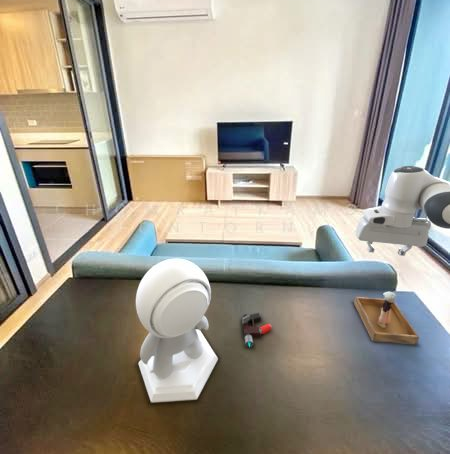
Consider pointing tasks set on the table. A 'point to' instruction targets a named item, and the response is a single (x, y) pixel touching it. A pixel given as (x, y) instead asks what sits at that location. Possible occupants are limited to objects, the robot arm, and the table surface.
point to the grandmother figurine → (386, 309)
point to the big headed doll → (174, 331)
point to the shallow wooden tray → (394, 331)
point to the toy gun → (253, 328)
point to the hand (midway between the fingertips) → (385, 253)
